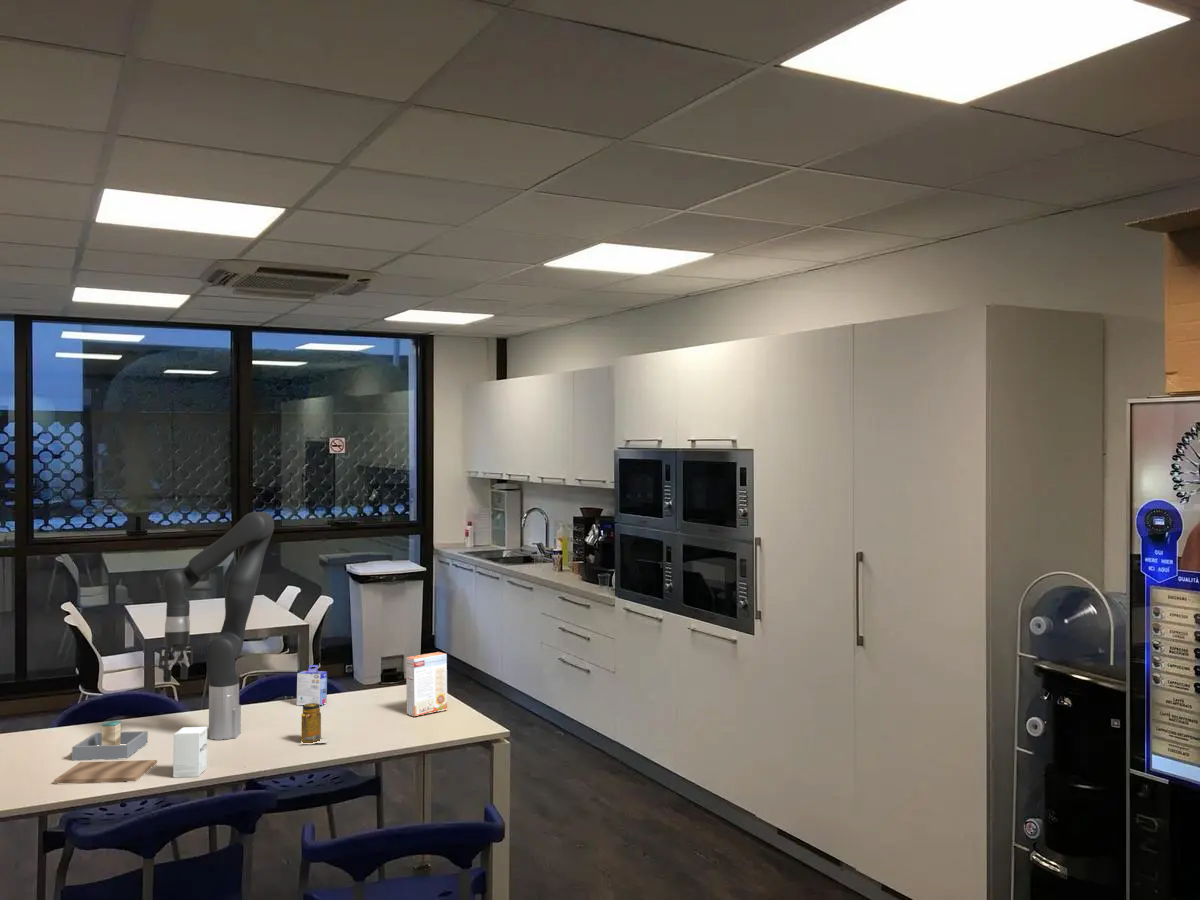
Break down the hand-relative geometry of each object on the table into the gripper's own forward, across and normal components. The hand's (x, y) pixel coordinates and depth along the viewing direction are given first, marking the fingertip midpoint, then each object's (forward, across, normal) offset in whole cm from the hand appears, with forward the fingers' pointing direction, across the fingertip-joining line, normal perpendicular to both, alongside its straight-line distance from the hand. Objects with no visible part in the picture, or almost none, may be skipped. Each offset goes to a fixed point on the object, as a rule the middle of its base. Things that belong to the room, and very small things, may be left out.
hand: (175, 680), depth 308 cm
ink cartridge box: (+15, +52, -21) cm, 58 cm away
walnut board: (+23, -33, -2) cm, 40 cm away
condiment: (+21, +8, -45) cm, 50 cm away
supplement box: (+23, -28, -26) cm, 45 cm away
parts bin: (+20, -14, +12) cm, 27 cm away
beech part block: (+20, -14, +12) cm, 27 cm away
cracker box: (+17, +49, -68) cm, 85 cm away
